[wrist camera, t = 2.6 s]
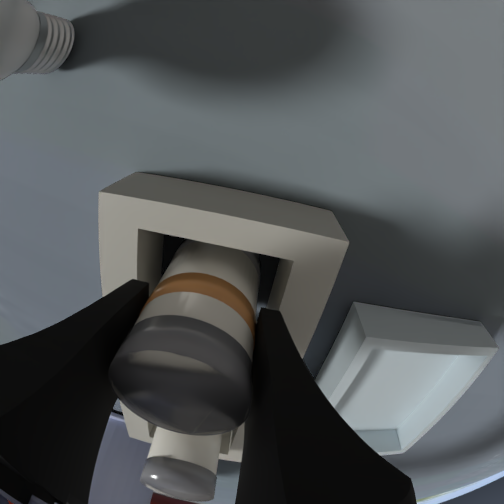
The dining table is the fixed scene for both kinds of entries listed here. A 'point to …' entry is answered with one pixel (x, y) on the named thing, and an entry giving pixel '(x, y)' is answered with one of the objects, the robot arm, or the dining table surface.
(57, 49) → the lightbulb
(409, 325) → the parts tray
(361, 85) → the dining table surface
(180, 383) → the fuse
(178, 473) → the cylinder
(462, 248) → the dining table surface
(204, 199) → the fuse block
